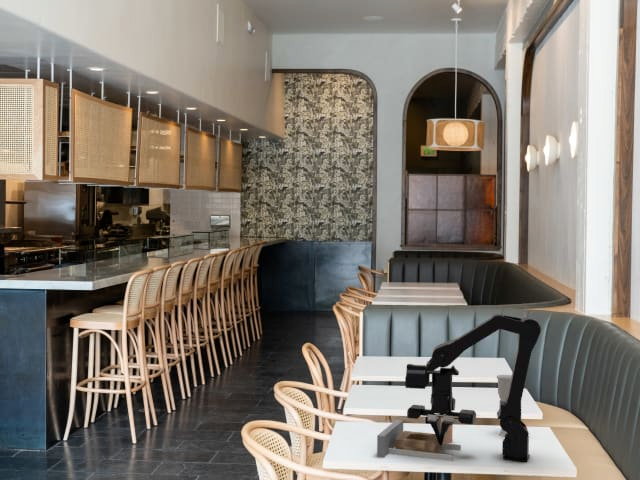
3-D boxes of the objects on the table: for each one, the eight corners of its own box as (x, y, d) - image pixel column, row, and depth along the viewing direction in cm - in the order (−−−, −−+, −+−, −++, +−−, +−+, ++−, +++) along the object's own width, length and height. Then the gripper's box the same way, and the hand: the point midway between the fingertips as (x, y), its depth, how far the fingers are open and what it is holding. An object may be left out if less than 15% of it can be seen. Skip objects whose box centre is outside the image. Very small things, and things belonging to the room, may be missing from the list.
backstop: (463, 446, 237) (463, 425, 236) (449, 465, 218) (449, 443, 218) (396, 439, 244) (396, 419, 244) (377, 456, 225) (377, 435, 225)
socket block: (441, 448, 234) (441, 434, 234) (433, 457, 225) (433, 443, 225) (404, 444, 238) (404, 430, 238) (395, 453, 229) (395, 439, 228)
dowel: (453, 440, 243) (453, 410, 242) (450, 444, 239) (451, 413, 239) (440, 439, 244) (440, 409, 244) (437, 442, 240) (437, 412, 240)
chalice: (523, 436, 248) (524, 378, 247) (504, 438, 245) (505, 379, 245) (509, 430, 254) (510, 374, 254) (491, 432, 252) (491, 375, 251)
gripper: (479, 387, 233) (479, 440, 233) (416, 381, 239) (416, 434, 240) (472, 394, 222) (471, 451, 223) (407, 388, 229) (406, 443, 229)
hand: (441, 444), depth 229 cm, fingers closed
